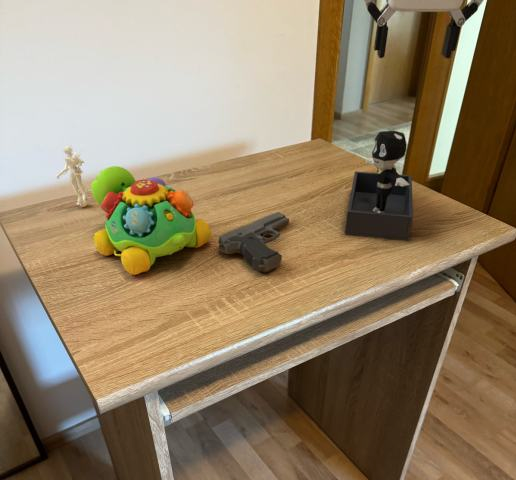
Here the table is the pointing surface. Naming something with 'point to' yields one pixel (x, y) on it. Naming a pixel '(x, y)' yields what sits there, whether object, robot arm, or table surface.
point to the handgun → (255, 242)
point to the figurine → (75, 174)
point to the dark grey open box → (372, 223)
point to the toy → (387, 164)
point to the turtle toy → (144, 219)
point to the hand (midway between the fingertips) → (412, 56)
